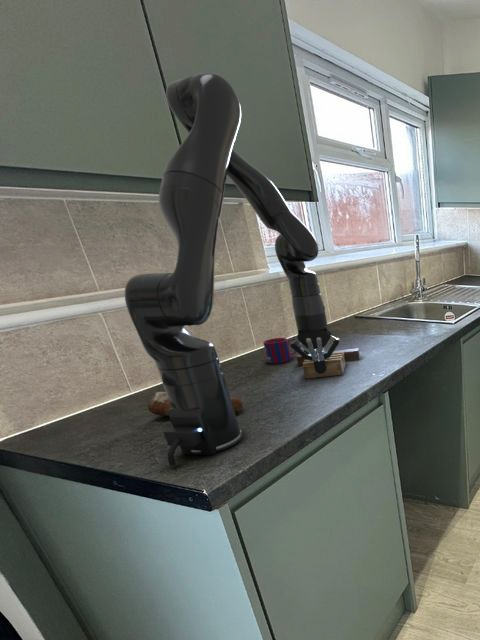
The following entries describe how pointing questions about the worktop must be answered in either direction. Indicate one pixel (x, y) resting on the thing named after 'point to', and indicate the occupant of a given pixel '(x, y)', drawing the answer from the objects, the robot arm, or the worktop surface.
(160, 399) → the bread
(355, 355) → the stop rail
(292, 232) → the robot arm
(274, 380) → the worktop surface
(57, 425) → the worktop surface
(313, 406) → the worktop surface
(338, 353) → the rack
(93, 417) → the worktop surface
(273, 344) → the mug
